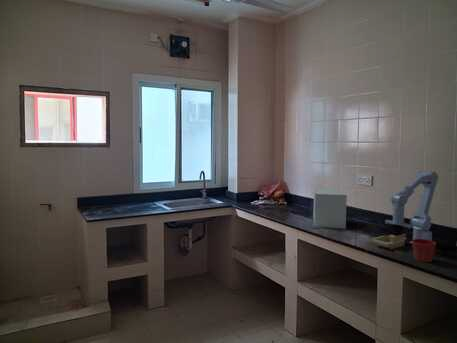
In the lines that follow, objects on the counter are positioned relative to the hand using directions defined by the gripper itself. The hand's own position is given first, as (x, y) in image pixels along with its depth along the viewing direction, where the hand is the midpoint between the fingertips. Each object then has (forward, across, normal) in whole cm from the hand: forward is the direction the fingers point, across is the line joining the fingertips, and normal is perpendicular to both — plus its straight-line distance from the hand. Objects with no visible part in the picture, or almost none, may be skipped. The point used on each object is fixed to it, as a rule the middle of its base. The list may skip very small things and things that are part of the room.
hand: (397, 237), depth 198 cm
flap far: (+3, -12, 0) cm, 12 cm away
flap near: (0, +1, 0) cm, 1 cm away
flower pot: (+6, +19, -10) cm, 22 cm away
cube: (+6, -60, +14) cm, 62 cm away
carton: (+5, -5, 0) cm, 7 cm away
